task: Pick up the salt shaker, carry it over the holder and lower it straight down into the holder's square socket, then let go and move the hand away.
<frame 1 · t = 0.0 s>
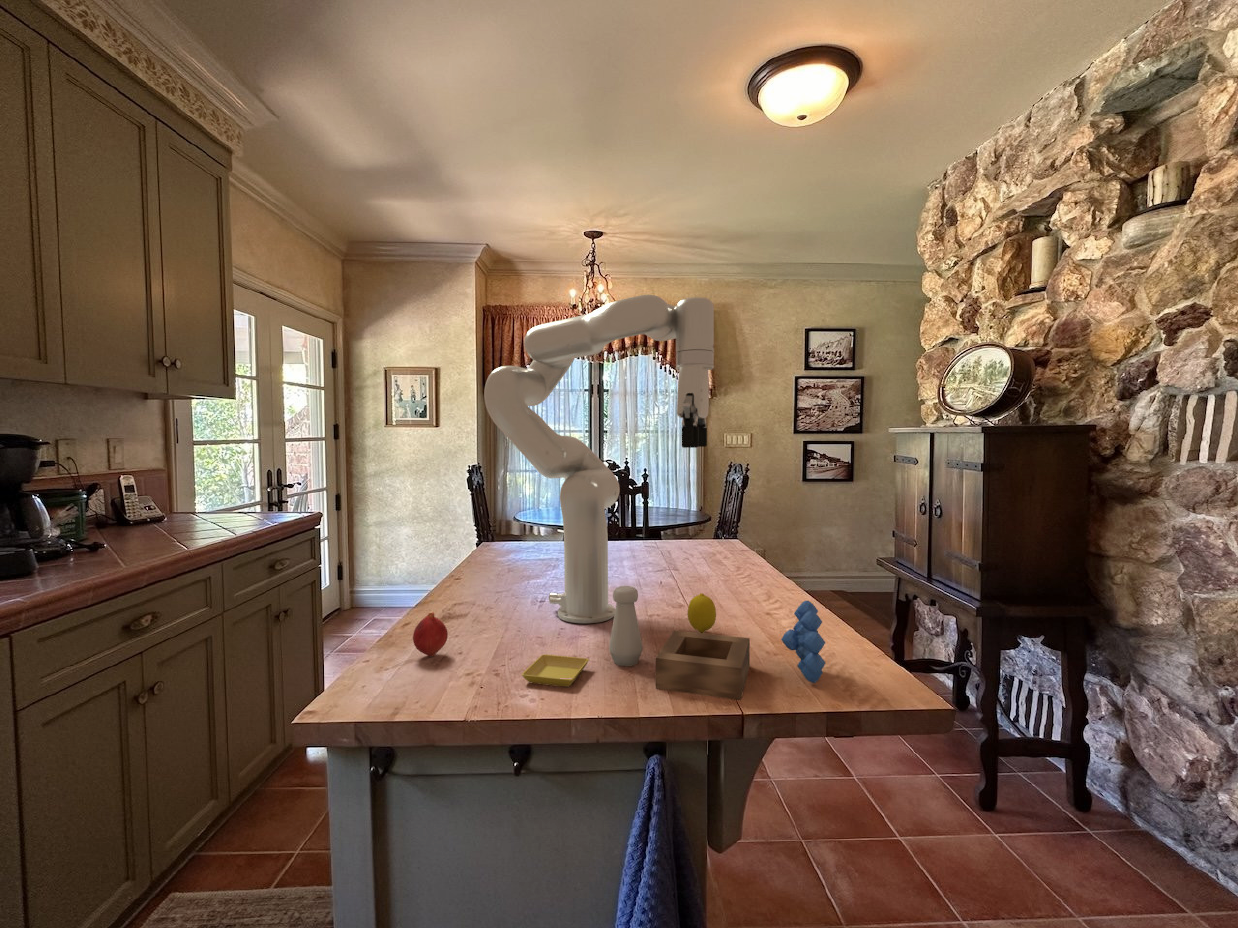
hand: (694, 447, 114), 37 cm above the countertop, tool pointing down, fingers open, 9 cm apart
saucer: (556, 679, 92), on the countertop
onion: (430, 657, 101), on the countertop
salt shaker: (625, 662, 98), on the countertop
lemon: (701, 634, 112), on the countertop
grapes: (802, 677, 91), on the countertop
shaker holder: (704, 676, 91), on the countertop
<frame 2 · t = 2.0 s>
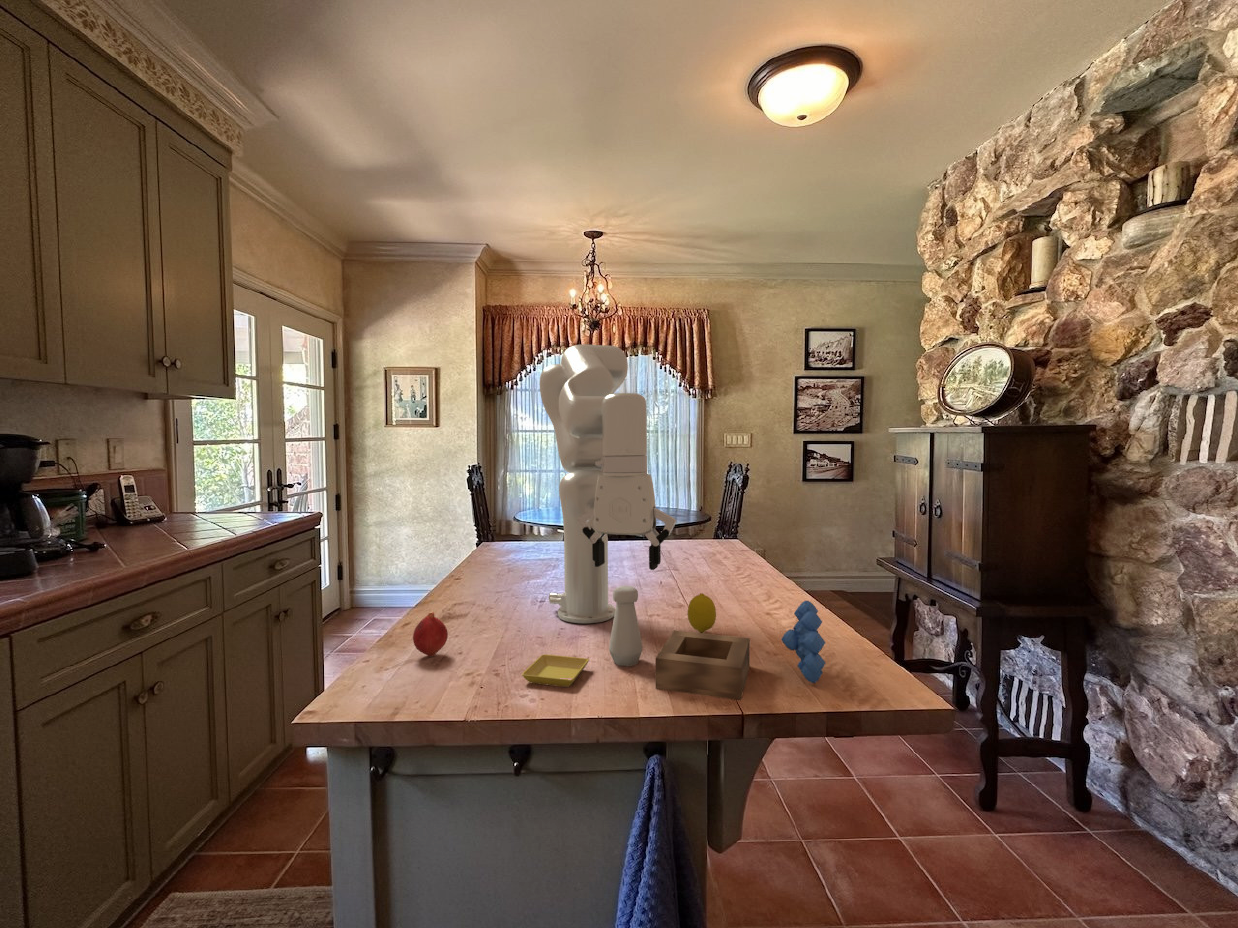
hand: (626, 566, 96), 17 cm above the countertop, tool pointing down, fingers open, 9 cm apart
nothing on the countertop moved.
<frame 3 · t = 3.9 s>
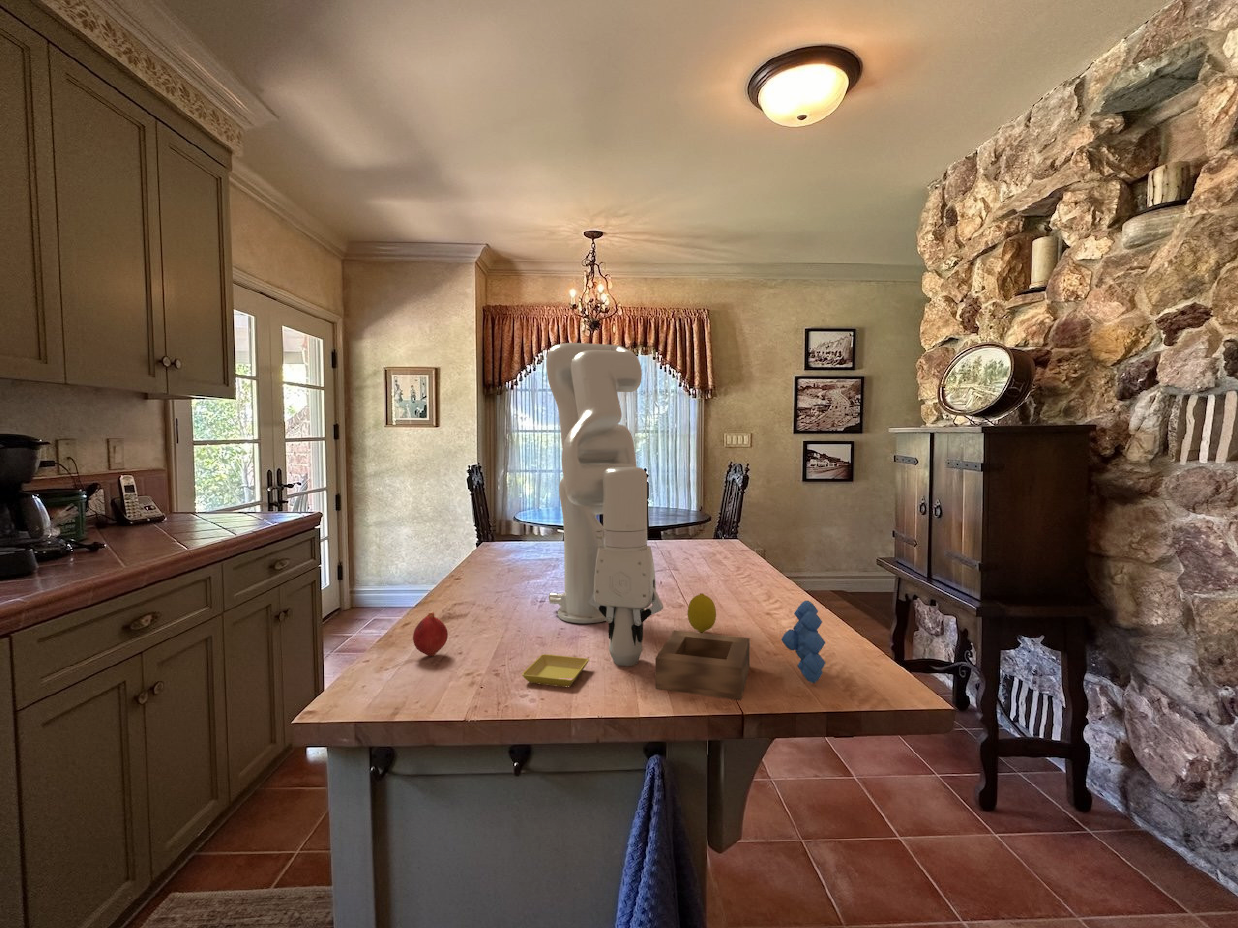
hand: (625, 643, 98), 3 cm above the countertop, tool pointing down, fingers closed on salt shaker, 3 cm apart
salt shaker: (625, 662, 98), on the countertop, touching gripper
everything else where it was.
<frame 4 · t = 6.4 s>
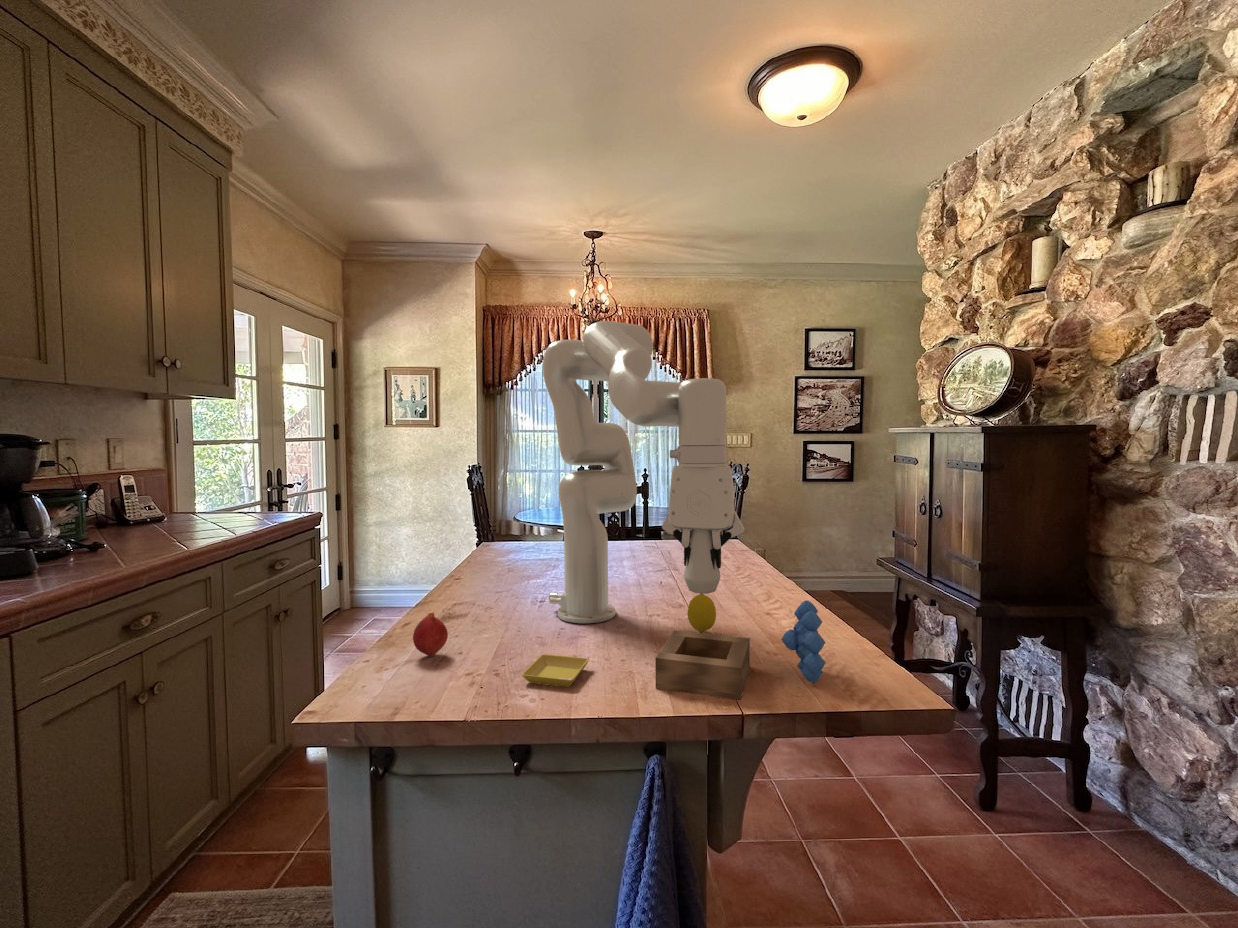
hand: (702, 570, 91), 17 cm above the countertop, tool pointing down, fingers closed on salt shaker, 3 cm apart
salt shaker: (702, 591, 91), point 14 cm above the countertop, touching gripper
everything else where it was.
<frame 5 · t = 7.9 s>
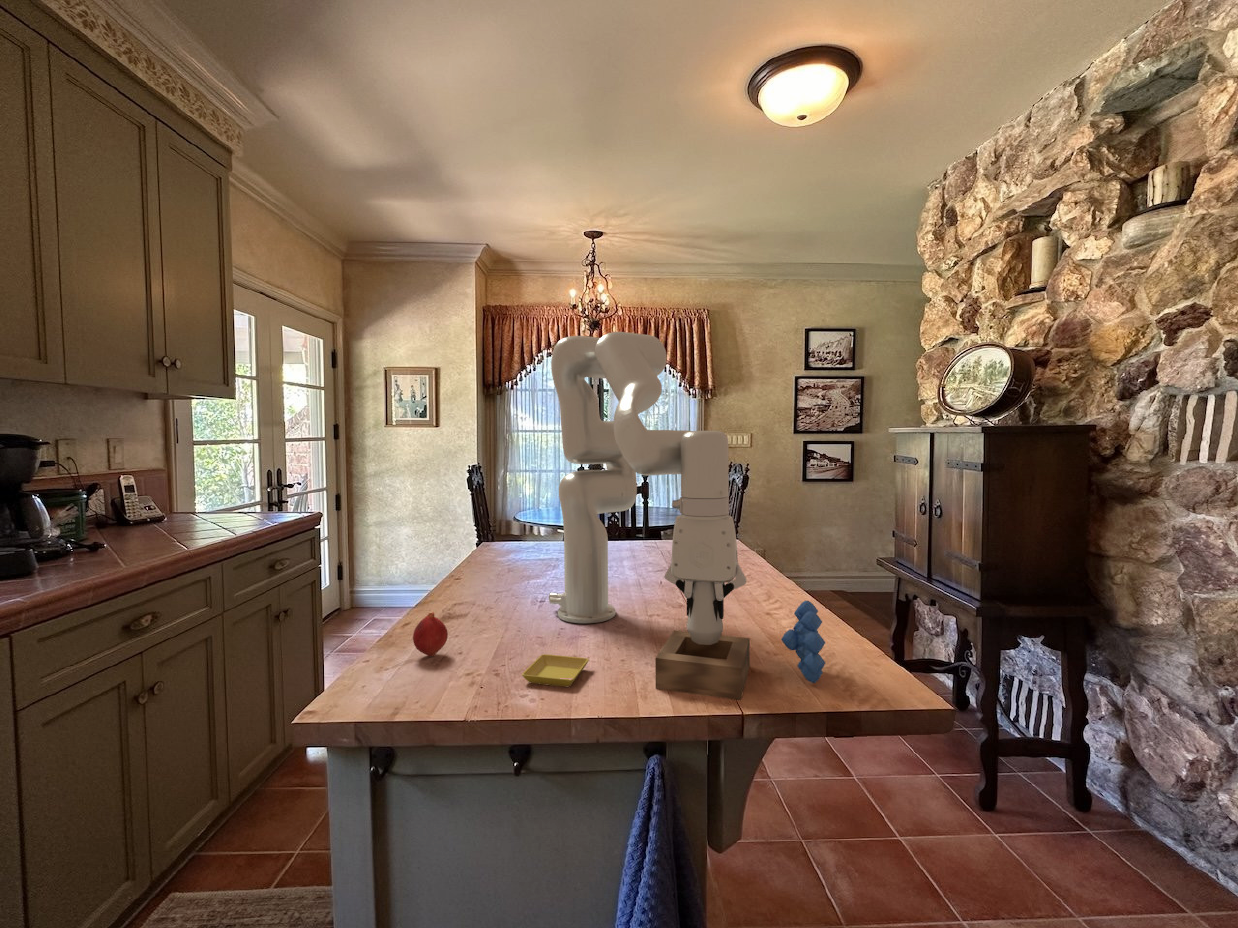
hand: (705, 620, 91), 9 cm above the countertop, tool pointing down, fingers closed on salt shaker, 3 cm apart
salt shaker: (705, 641, 91), point 6 cm above the countertop, touching gripper
everything else where it was.
when the fingers open (5 cm above the countertop, at t = 9.3 s): salt shaker drops 1 cm, resting on shaker holder.
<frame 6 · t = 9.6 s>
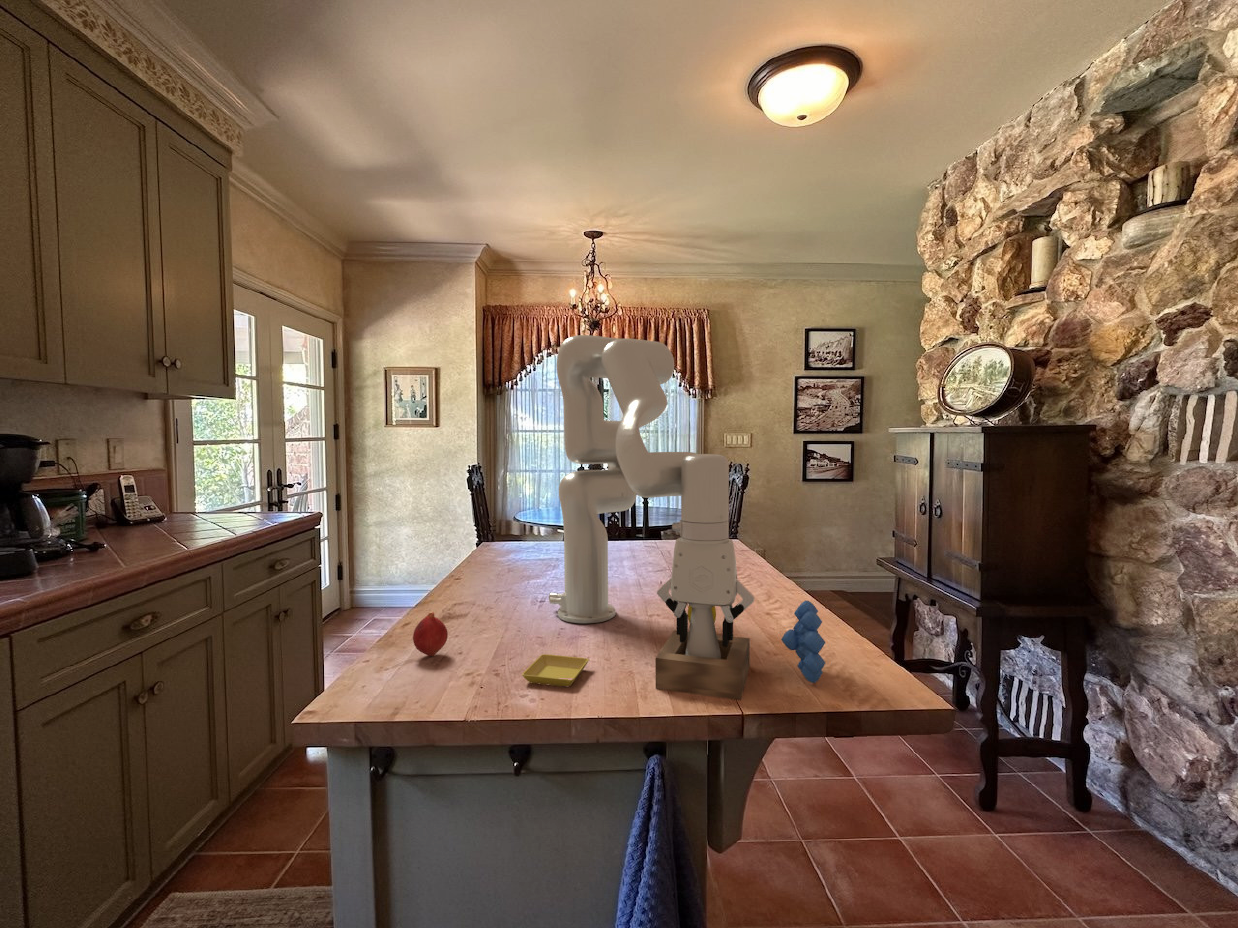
hand: (704, 640, 91), 6 cm above the countertop, tool pointing down, fingers open, 6 cm apart
salt shaker: (703, 672, 91), point 1 cm above the countertop, touching shaker holder
everything else where it was.
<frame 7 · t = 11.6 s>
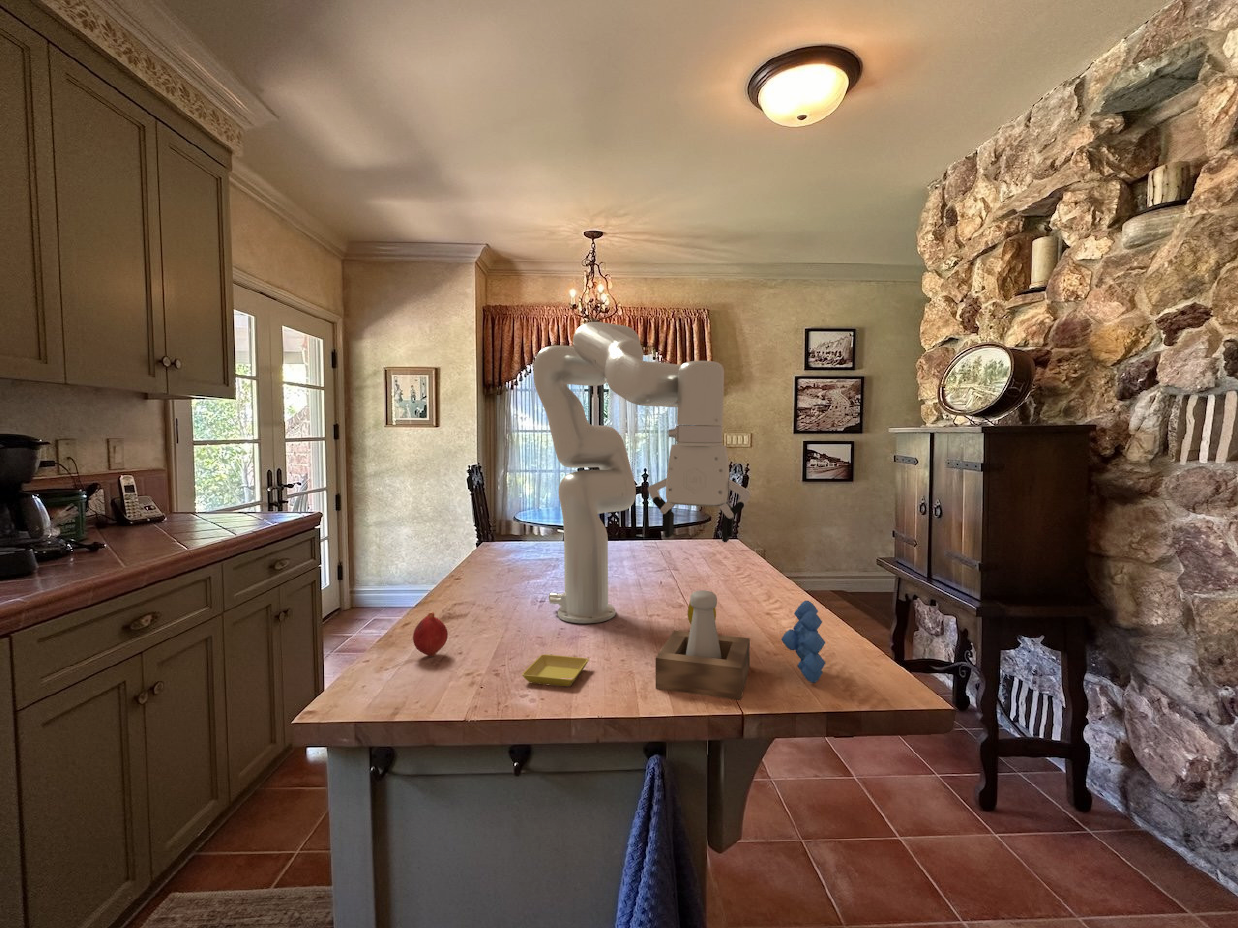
hand: (697, 538, 95), 22 cm above the countertop, tool pointing down, fingers open, 9 cm apart
nothing on the countertop moved.
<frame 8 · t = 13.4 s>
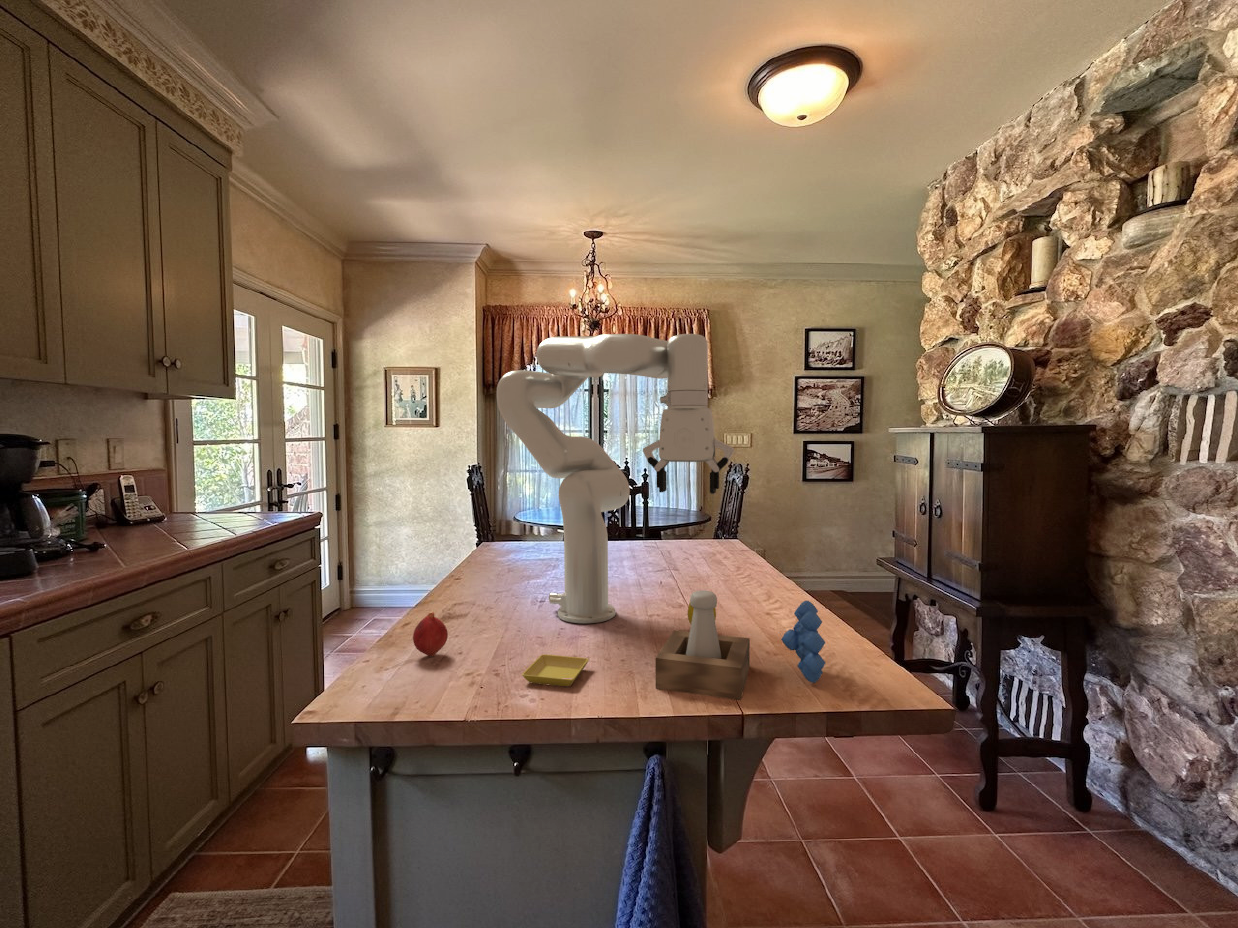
hand: (687, 492, 107), 28 cm above the countertop, tool pointing down, fingers open, 9 cm apart
nothing on the countertop moved.
at the end: salt shaker 0.2 cm off-centre on the shaker holder, point 0.6 cm above the shaker holder's base; salt shaker tilted 0°; the gripper is holding nothing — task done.
